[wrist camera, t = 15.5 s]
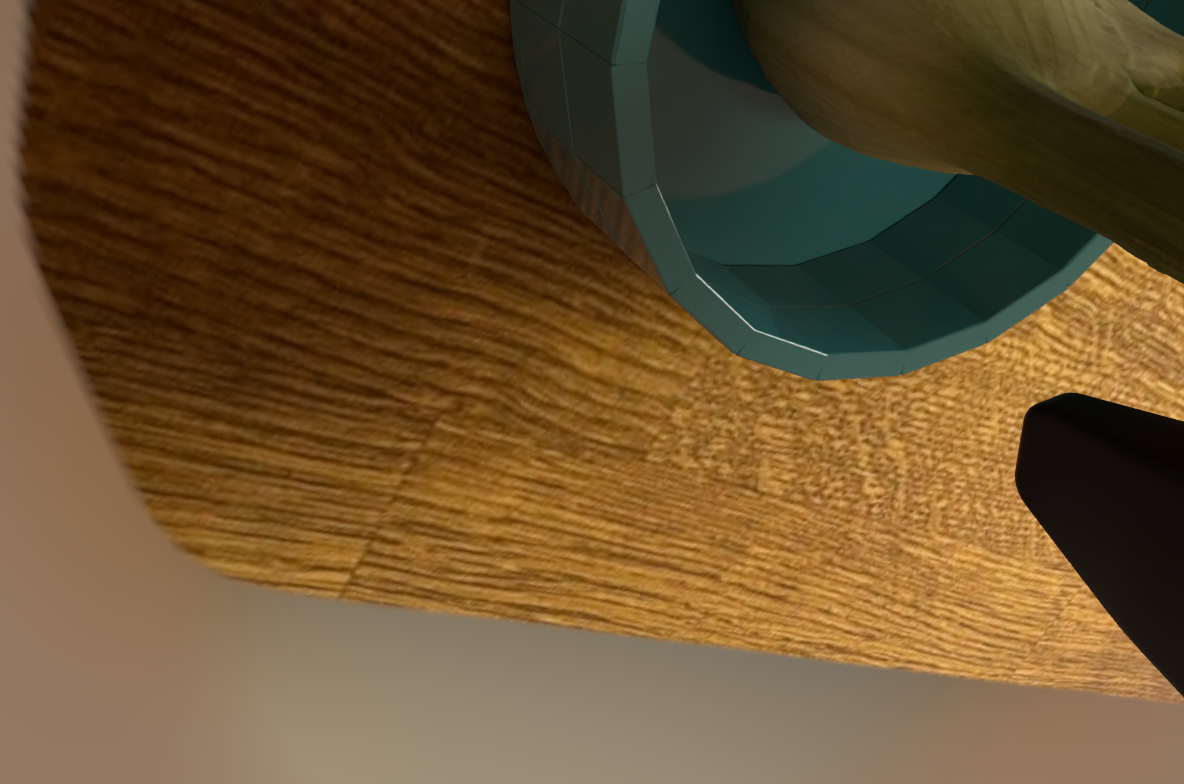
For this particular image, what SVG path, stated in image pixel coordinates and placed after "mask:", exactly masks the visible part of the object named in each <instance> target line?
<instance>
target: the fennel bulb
mask: <svg viewBox="0 0 1184 784" xmlns="http://www.w3.org/2000/svg"><path fill="white" fill-rule="evenodd" d="M732 6H733V9H734V11H735V13H736V17H737V22H738V25H739V27H740V29H741V30H742V33H743V35H744V37H745V39H746V42H747V44H748V46H749V48H750V50H751V52H752V55H753V56H754V58H755V60H756V61H757V62H758V63H759V64H760V66H761V68H762V71H763V74H764V77H765V79H766V80H767V81H769V82H770V83H771V84H772V86H773V87H774V88H775V90H776V91H777V92H778V94H779V95H780V96H781V97H782V99H783V100H784V101H785V102H786V103H787V105H788V106H789V107H790V108H791V109H792V110H793V111H794V112H795V113H796V115H797V116H798V117H799V118H800V119H801V120H802V121H804V122H805V123H806V124H807V125H808V126H809V127H810V128H812V129H813V130H815V131H816V132H817V133H818V134H819V135H822V136H824V137H825V138H827V139H829V140H831V141H834V142H835V143H837V144H841V145H842V146H844V147H847V148H849V149H851V150H853V151H856V152H859V153H860V154H863V155H866V156H870V157H872V158H876V159H881V160H885V161H890V162H893V163H897V164H900V165H905V166H910V167H916V168H921V169H927V170H931V171H936V172H942V173H948V174H966V175H973V174H974V175H977V176H980V177H982V178H984V179H986V180H989V181H991V182H994V183H996V184H998V185H1000V186H1002V187H1004V188H1006V189H1008V190H1010V191H1013V192H1014V193H1016V194H1019V195H1021V196H1023V197H1025V198H1026V199H1028V200H1030V201H1032V202H1033V203H1035V204H1037V205H1039V206H1041V207H1043V208H1045V209H1047V210H1050V211H1052V212H1054V213H1056V214H1058V215H1060V216H1063V217H1065V218H1067V219H1069V220H1071V221H1073V222H1075V223H1078V224H1080V225H1082V226H1084V227H1086V228H1088V229H1090V230H1092V231H1095V232H1097V233H1098V234H1100V235H1102V236H1103V237H1105V238H1108V239H1109V240H1111V241H1113V242H1114V243H1116V244H1117V245H1119V246H1120V247H1122V248H1123V249H1124V250H1126V251H1127V252H1129V253H1131V254H1132V255H1133V256H1135V257H1137V258H1139V259H1140V260H1142V261H1144V262H1146V263H1147V264H1148V265H1149V266H1150V267H1152V268H1154V269H1155V270H1157V271H1159V272H1161V273H1163V274H1166V275H1168V276H1170V277H1172V278H1174V279H1175V280H1177V281H1179V282H1181V283H1183V284H1184V37H1183V36H1181V35H1179V34H1177V33H1175V32H1173V31H1172V30H1170V29H1168V28H1166V27H1165V26H1163V25H1161V24H1160V23H1158V22H1157V21H1156V20H1154V19H1153V18H1152V17H1150V16H1149V15H1147V14H1146V13H1144V12H1143V11H1141V10H1140V9H1139V8H1137V7H1136V6H1134V5H1133V4H1132V3H1131V2H1129V1H1127V0H732Z"/></svg>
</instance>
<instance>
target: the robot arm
mask: <svg viewBox="0 0 1184 784" xmlns="http://www.w3.org/2000/svg"><path fill="white" fill-rule="evenodd" d="M1015 482H1016V486H1017V489H1018V492H1019V494H1020V496H1021V498H1022V500H1023V502H1024V503H1025V505H1026V506H1027V507H1028V509H1029V510H1030V511H1031V512H1032V514H1033V515H1034V516H1035V518H1036V519H1037V520H1038V522H1039V523H1040V524H1041V526H1042V527H1043V528H1044V529H1045V531H1046V532H1047V533H1048V535H1049V536H1050V537H1051V539H1052V540H1053V541H1054V543H1055V544H1056V545H1057V547H1058V548H1059V549H1060V550H1061V552H1062V553H1063V554H1064V556H1065V557H1066V558H1067V560H1068V561H1069V562H1070V564H1071V565H1072V566H1073V567H1074V569H1075V570H1076V571H1077V573H1078V574H1079V575H1080V577H1081V578H1082V579H1083V581H1084V582H1085V583H1086V584H1087V586H1088V587H1089V588H1090V590H1091V591H1092V592H1093V594H1094V595H1095V596H1096V598H1097V599H1098V600H1099V601H1100V603H1101V604H1102V605H1103V607H1104V608H1105V609H1106V611H1107V612H1108V613H1109V614H1110V616H1111V617H1112V618H1113V619H1114V621H1115V622H1116V623H1117V624H1118V625H1119V627H1120V628H1121V629H1122V630H1123V632H1124V633H1125V634H1126V635H1127V636H1128V637H1129V638H1130V640H1131V641H1132V642H1133V643H1134V644H1135V645H1136V646H1137V647H1138V649H1139V650H1140V651H1141V652H1142V653H1143V654H1144V655H1145V656H1146V657H1147V658H1148V659H1149V661H1150V662H1151V663H1152V664H1153V665H1154V666H1155V667H1156V668H1157V669H1158V670H1159V671H1160V672H1161V673H1162V675H1163V676H1164V677H1165V678H1166V679H1167V680H1168V681H1169V682H1170V683H1171V684H1172V685H1173V686H1174V687H1175V688H1176V690H1177V691H1178V692H1179V693H1180V694H1181V695H1182V696H1183V697H1184V421H1180V420H1176V419H1173V418H1169V417H1165V416H1161V415H1158V414H1154V413H1150V412H1146V411H1143V410H1139V409H1135V408H1131V407H1128V406H1124V405H1120V404H1117V403H1113V402H1109V401H1105V400H1102V399H1098V398H1094V397H1090V396H1087V395H1083V394H1079V393H1064V394H1061V395H1058V396H1055V397H1053V398H1050V399H1048V400H1045V401H1043V402H1040V403H1038V404H1035V405H1034V406H1032V407H1031V408H1030V409H1029V410H1028V412H1027V413H1026V415H1025V418H1024V421H1023V427H1022V433H1021V439H1020V445H1019V451H1018V457H1017V463H1016V469H1015Z"/></svg>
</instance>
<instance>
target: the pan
mask: <svg viewBox="0 0 1184 784" xmlns="http://www.w3.org/2000/svg"><path fill="white" fill-rule="evenodd" d="M1127 1H1129V2H1131V3H1132V4H1133V5H1134V6H1136V7H1137V8H1139V9H1140V10H1141V11H1143V12H1144V13H1146V14H1147V15H1149V16H1150V17H1152V18H1153V19H1154V20H1156V21H1157V22H1158V23H1160V24H1161V25H1163V26H1165V27H1166V28H1168V29H1170V30H1172V31H1173V32H1175V33H1177V34H1179V35H1181V36H1183V37H1184V0H1127ZM510 15H511V27H512V39H513V51H514V57H515V62H516V66H517V71H518V76H519V80H520V85H521V90H522V95H523V99H524V102H525V105H526V107H527V110H528V113H529V116H530V119H531V121H532V124H533V127H534V130H535V133H536V136H537V138H538V141H539V142H540V144H541V146H542V148H543V150H544V152H545V154H546V156H547V158H548V160H549V162H550V163H551V165H552V167H553V169H554V171H555V173H556V175H557V176H558V178H559V179H560V180H561V182H562V183H563V185H564V186H565V187H566V189H567V190H568V191H569V193H570V195H571V197H572V199H573V201H574V203H575V204H576V205H577V206H578V208H579V209H580V210H581V211H582V212H583V213H584V214H585V215H586V216H587V217H588V218H589V219H590V220H591V221H592V222H593V223H594V224H595V225H596V226H597V227H598V228H599V229H600V230H601V231H602V232H603V233H604V234H605V235H606V236H607V237H609V238H610V239H611V240H612V241H613V242H614V243H615V244H616V245H617V246H618V247H619V248H620V249H621V250H622V251H623V252H624V253H625V254H626V255H627V256H628V257H629V258H630V259H631V260H632V261H633V262H634V263H635V264H636V265H637V266H638V267H639V268H641V269H642V270H643V271H644V272H645V273H646V274H647V275H648V276H649V277H650V278H651V279H652V280H653V281H654V282H655V283H656V284H657V285H658V286H659V287H660V288H661V289H662V290H663V291H664V292H665V293H666V294H667V295H668V296H669V297H670V298H672V299H673V300H674V301H675V302H676V303H677V304H678V305H679V306H680V307H682V308H683V309H684V310H685V311H686V312H687V313H688V314H689V315H690V316H692V317H693V318H694V319H695V320H696V321H697V322H698V323H699V324H700V325H701V326H703V327H704V328H705V329H706V330H707V331H708V332H709V333H710V334H711V335H713V336H714V337H715V338H716V339H717V340H718V341H719V342H720V343H721V344H722V345H724V346H725V347H726V348H727V349H728V350H729V351H730V352H731V353H735V354H736V355H737V356H739V357H742V358H745V359H749V360H752V361H755V362H758V363H761V364H764V365H767V366H770V367H773V368H776V369H779V370H782V371H785V372H789V373H792V374H795V375H798V376H801V377H804V378H807V379H810V380H817V381H823V380H840V379H857V378H874V377H891V376H899V375H904V374H907V373H910V372H912V371H915V370H918V369H920V368H923V367H926V366H928V365H931V364H934V363H936V362H939V361H942V360H944V359H947V358H950V357H953V356H955V355H958V354H961V353H963V352H966V351H969V350H971V349H974V348H977V347H979V346H982V345H984V344H985V343H989V342H990V341H992V340H993V339H995V338H996V337H998V336H999V335H1001V334H1002V333H1004V332H1005V331H1007V330H1008V329H1010V328H1011V327H1013V326H1014V325H1016V324H1017V323H1019V322H1020V321H1021V320H1023V319H1024V318H1026V317H1027V316H1029V315H1030V314H1032V313H1033V312H1035V311H1036V310H1038V309H1039V308H1041V307H1042V306H1044V305H1045V304H1047V303H1048V302H1050V301H1051V300H1053V299H1054V298H1056V297H1057V296H1059V295H1060V294H1061V293H1063V292H1064V291H1066V290H1067V289H1068V287H1070V286H1071V285H1072V284H1073V283H1074V282H1075V281H1076V280H1077V279H1078V278H1079V277H1080V276H1081V275H1082V274H1083V273H1084V272H1085V271H1086V270H1087V269H1088V268H1089V267H1090V266H1091V265H1092V264H1093V263H1094V262H1095V261H1096V260H1097V259H1098V258H1099V257H1100V256H1101V255H1102V254H1103V253H1104V252H1105V251H1106V250H1107V249H1108V248H1109V247H1110V246H1111V245H1112V244H1113V243H1114V242H1113V241H1111V240H1109V239H1108V238H1105V237H1103V236H1102V235H1100V234H1098V233H1097V232H1095V231H1092V230H1090V229H1088V228H1086V227H1084V226H1082V225H1080V224H1078V223H1075V222H1073V221H1071V220H1069V219H1067V218H1065V217H1063V216H1060V215H1058V214H1056V213H1054V212H1052V211H1050V210H1047V209H1045V208H1043V207H1041V206H1039V205H1037V204H1035V203H1033V202H1032V201H1030V200H1028V199H1026V198H1025V197H1023V196H1021V195H1019V194H1016V193H1014V192H1013V191H1010V190H1008V189H1006V188H1004V187H1002V186H1000V185H998V184H996V183H994V182H991V181H989V180H986V179H984V178H982V177H980V176H977V175H974V174H973V175H966V174H948V173H942V172H936V171H931V170H927V169H921V168H916V167H910V166H905V165H900V164H897V163H893V162H890V161H885V160H881V159H876V158H872V157H870V156H866V155H863V154H860V153H859V152H856V151H853V150H851V149H849V148H847V147H844V146H842V145H841V144H837V143H835V142H834V141H831V140H829V139H827V138H825V137H824V136H822V135H819V134H818V133H817V132H816V131H815V130H813V129H812V128H810V127H809V126H808V125H807V124H806V123H805V122H804V121H802V120H801V119H800V118H799V117H798V116H797V115H796V113H795V112H794V111H793V110H792V109H791V108H790V107H789V106H788V105H787V103H786V102H785V101H784V100H783V99H782V97H781V96H780V95H779V94H778V92H777V91H776V90H775V88H774V87H773V86H772V84H771V83H770V82H769V81H767V80H766V79H765V77H764V74H763V71H762V68H761V66H760V64H759V63H758V62H757V61H756V60H755V58H754V56H753V55H752V52H751V50H750V48H749V46H748V44H747V42H746V39H745V37H744V35H743V33H742V30H741V29H740V27H739V25H738V22H737V17H736V13H735V11H734V9H733V6H732V0H510Z"/></svg>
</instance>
